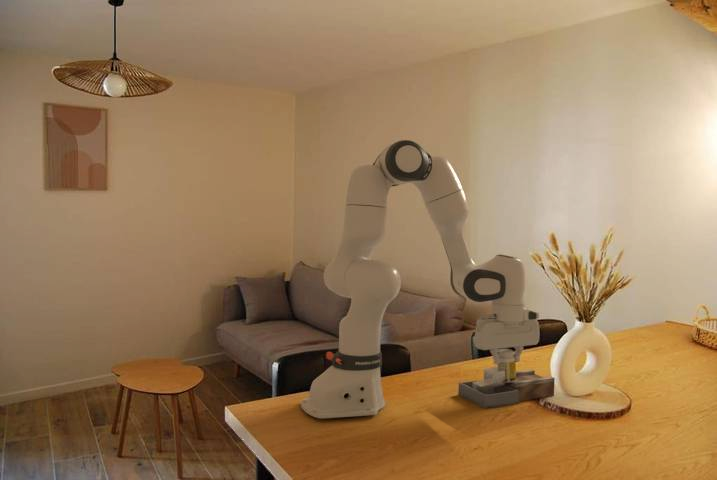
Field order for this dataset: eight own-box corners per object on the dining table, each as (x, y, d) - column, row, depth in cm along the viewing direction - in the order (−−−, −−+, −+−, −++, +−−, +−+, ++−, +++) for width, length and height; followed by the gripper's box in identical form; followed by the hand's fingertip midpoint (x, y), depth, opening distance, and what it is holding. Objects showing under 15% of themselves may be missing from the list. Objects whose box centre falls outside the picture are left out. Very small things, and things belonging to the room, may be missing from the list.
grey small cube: (493, 387, 146) (492, 373, 146) (484, 383, 150) (483, 369, 150) (505, 384, 148) (504, 370, 148) (495, 380, 152) (495, 366, 151)
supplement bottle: (514, 377, 153) (513, 348, 152) (517, 383, 148) (516, 353, 147) (497, 377, 153) (496, 348, 153) (499, 383, 149) (498, 353, 148)
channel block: (514, 401, 146) (515, 383, 146) (493, 391, 154) (493, 374, 154) (554, 395, 152) (554, 377, 152) (531, 386, 160) (531, 369, 160)
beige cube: (494, 397, 147) (482, 401, 145) (484, 393, 150) (473, 396, 149) (493, 383, 146) (481, 386, 145) (484, 379, 150) (472, 382, 148)
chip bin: (485, 408, 140) (485, 395, 140) (458, 394, 151) (458, 382, 151) (518, 403, 145) (518, 390, 145) (490, 390, 156) (490, 378, 156)
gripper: (484, 317, 142) (483, 369, 143) (543, 313, 151) (542, 362, 152) (470, 313, 148) (468, 363, 149) (527, 309, 157) (526, 356, 157)
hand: (506, 362), depth 150 cm, fingers closed on supplement bottle, 5 cm apart
